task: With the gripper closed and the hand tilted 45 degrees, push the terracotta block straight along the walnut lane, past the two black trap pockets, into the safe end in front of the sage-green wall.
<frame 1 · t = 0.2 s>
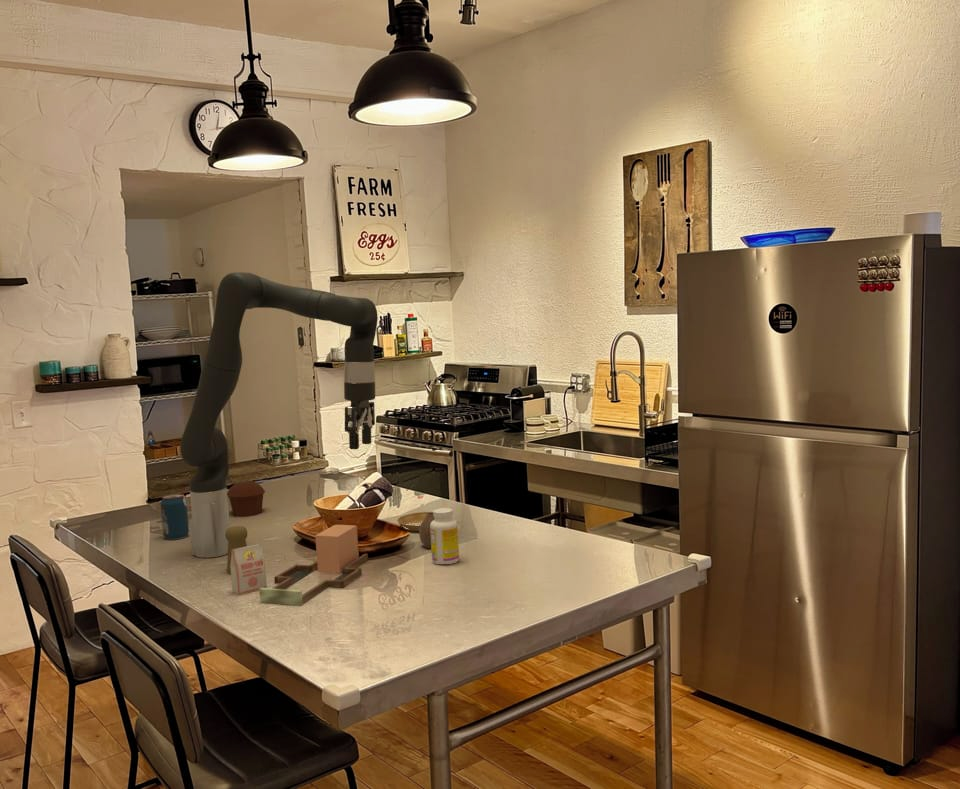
hand: (360, 446, 212), 29 cm above the table, tool pointing down, fingers open, 8 cm apart
supplement bottle: (445, 562, 212), on the table
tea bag: (249, 590, 198), on the table
muffin: (247, 514, 271), on the table
trap lane: (318, 578, 203), on the table
soda can: (176, 537, 246), on the table
terracotta block: (338, 566, 212), on the table
vase: (433, 546, 226), on the table
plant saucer: (423, 528, 246), on the table
olive ball-topped cylinder: (239, 571, 212), on the table
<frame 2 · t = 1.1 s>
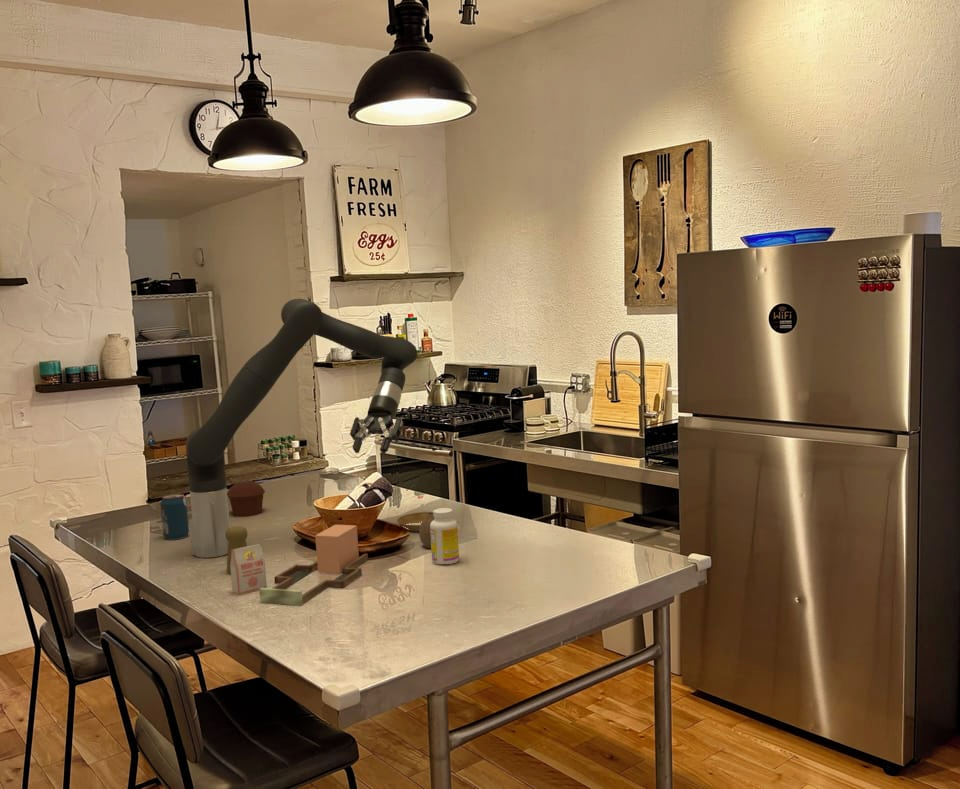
hand: (369, 451, 228), 25 cm above the table, tool tilted 45°, fingers open, 7 cm apart
nothing on the table moved.
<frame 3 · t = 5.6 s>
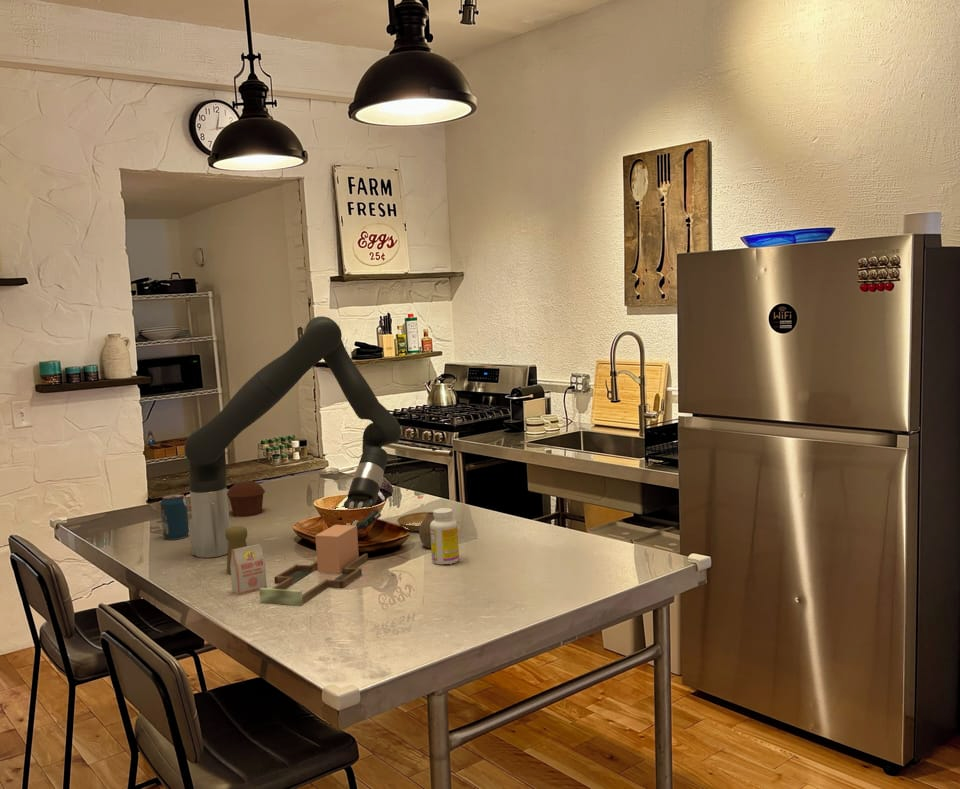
hand: (347, 542, 217), 4 cm above the table, tool tilted 45°, fingers closed
terracotta block: (338, 566, 212), on the table, touching gripper
everything else where it was.
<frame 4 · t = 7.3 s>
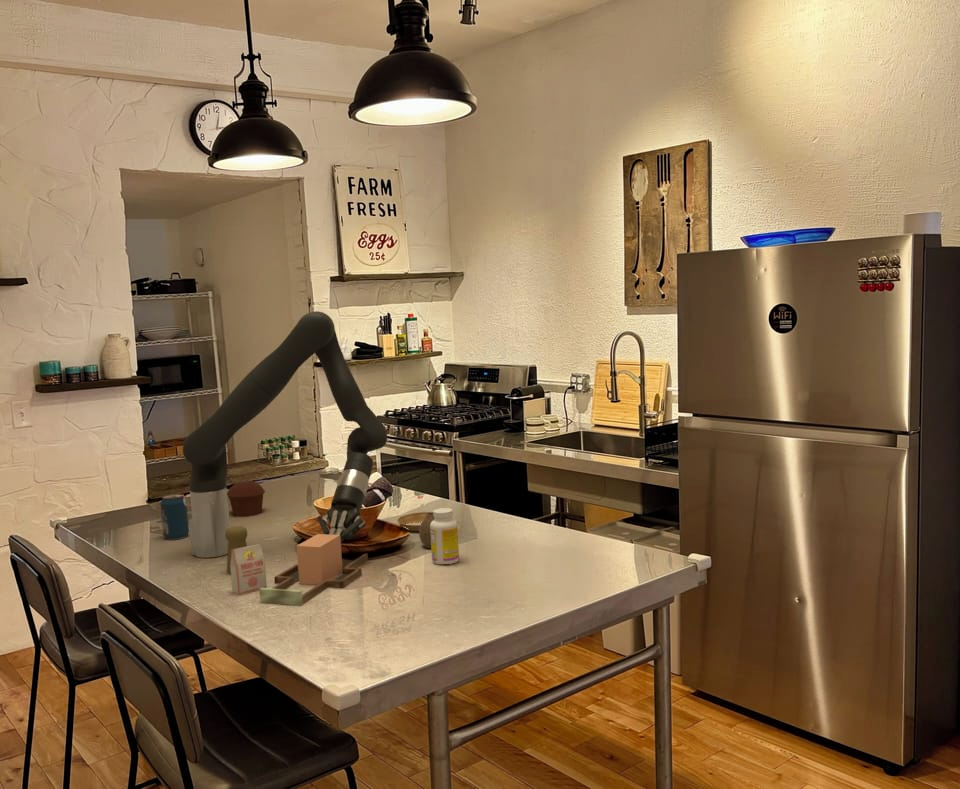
hand: (331, 553, 208), 4 cm above the table, tool tilted 45°, fingers closed
terracotta block: (321, 577, 204), on the table, touching gripper
everything else where it was.
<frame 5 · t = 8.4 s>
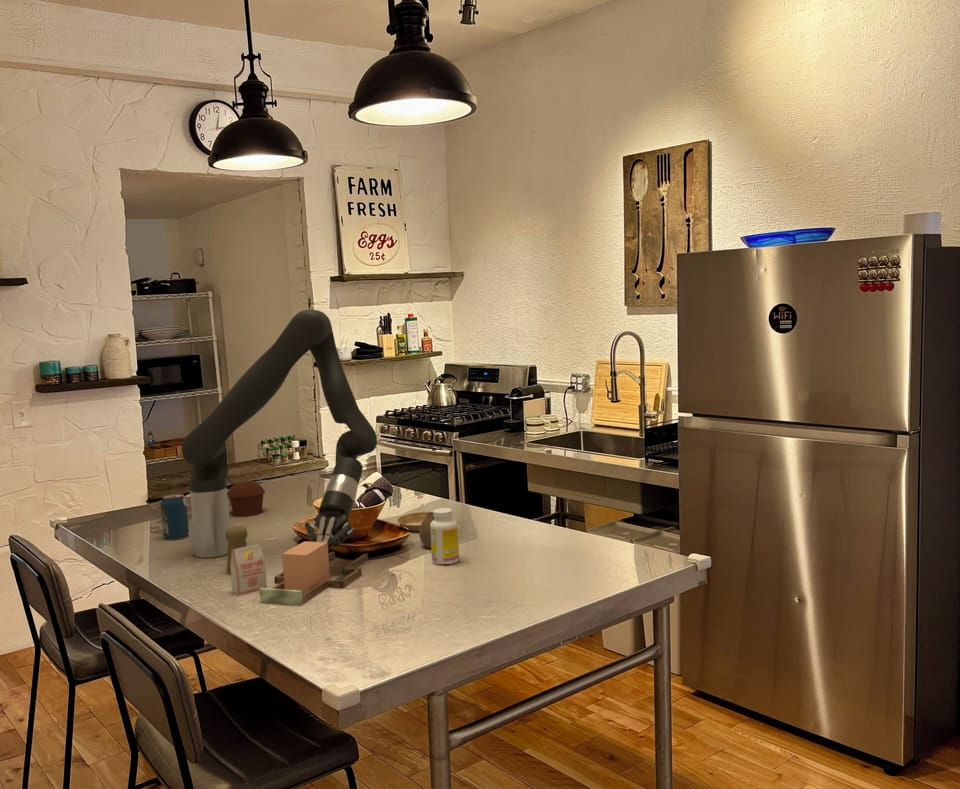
hand: (318, 560, 202), 4 cm above the table, tool tilted 45°, fingers closed
terracotta block: (307, 586, 198), on the table, touching gripper
everything else where it was.
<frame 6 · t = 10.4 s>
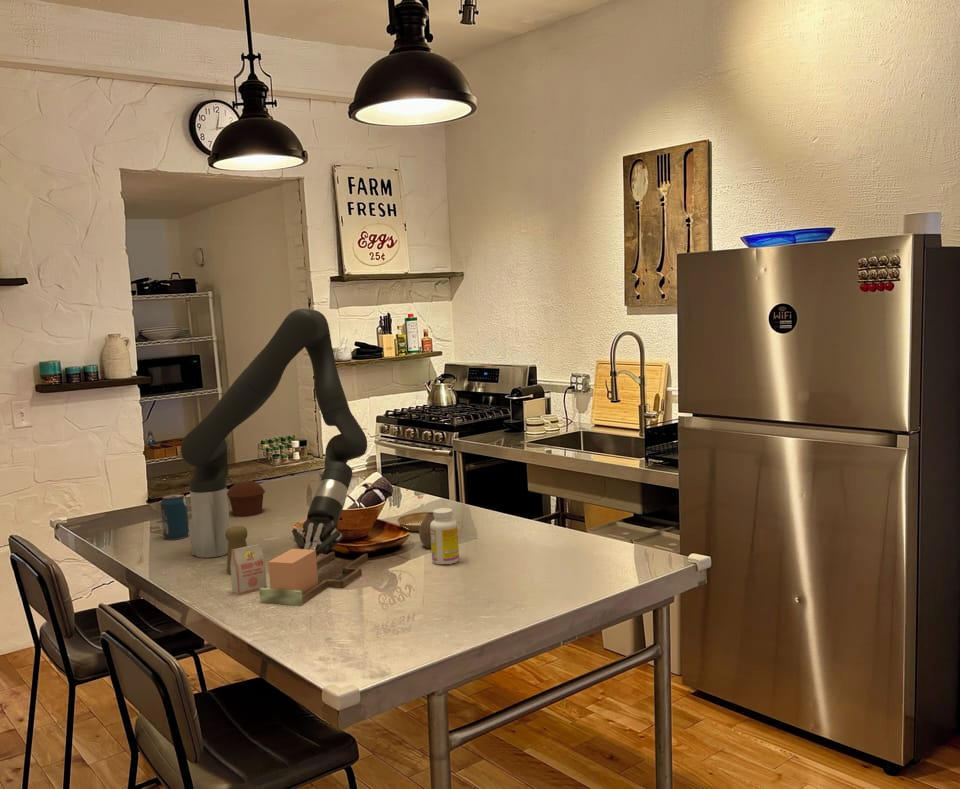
hand: (306, 568, 197), 4 cm above the table, tool tilted 45°, fingers closed
terracotta block: (295, 595, 192), on the table, touching gripper, trap lane
everything else where it was.
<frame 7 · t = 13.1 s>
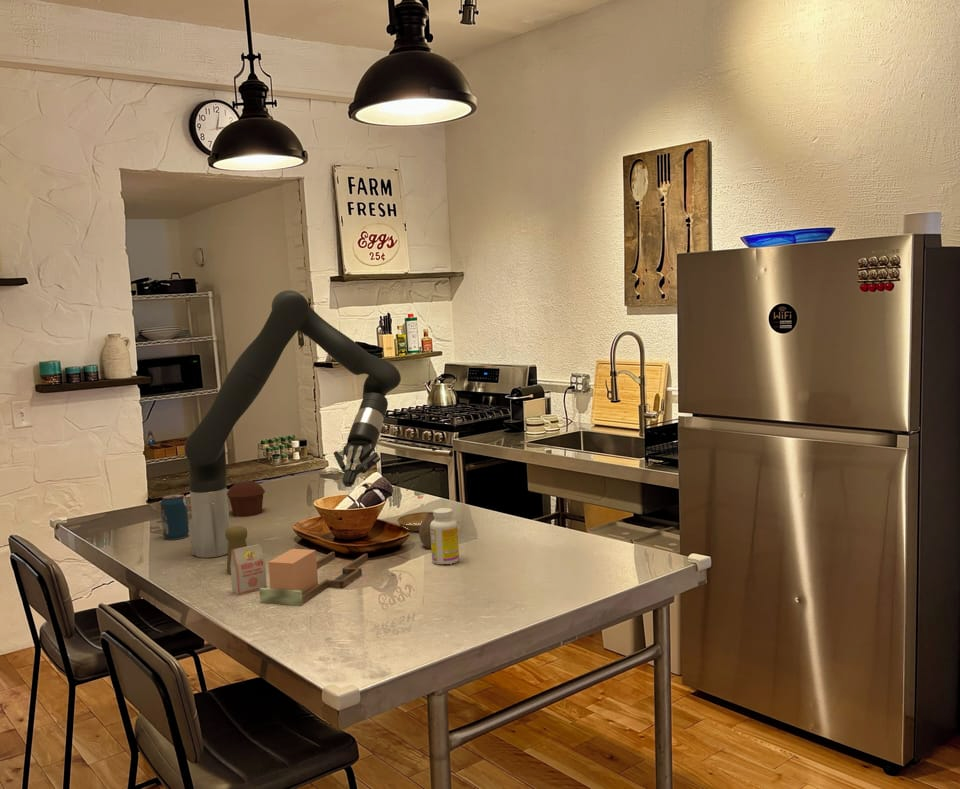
hand: (347, 485, 217), 19 cm above the table, tool tilted 45°, fingers closed
terracotta block: (295, 595, 192), on the table
everything else where it was.
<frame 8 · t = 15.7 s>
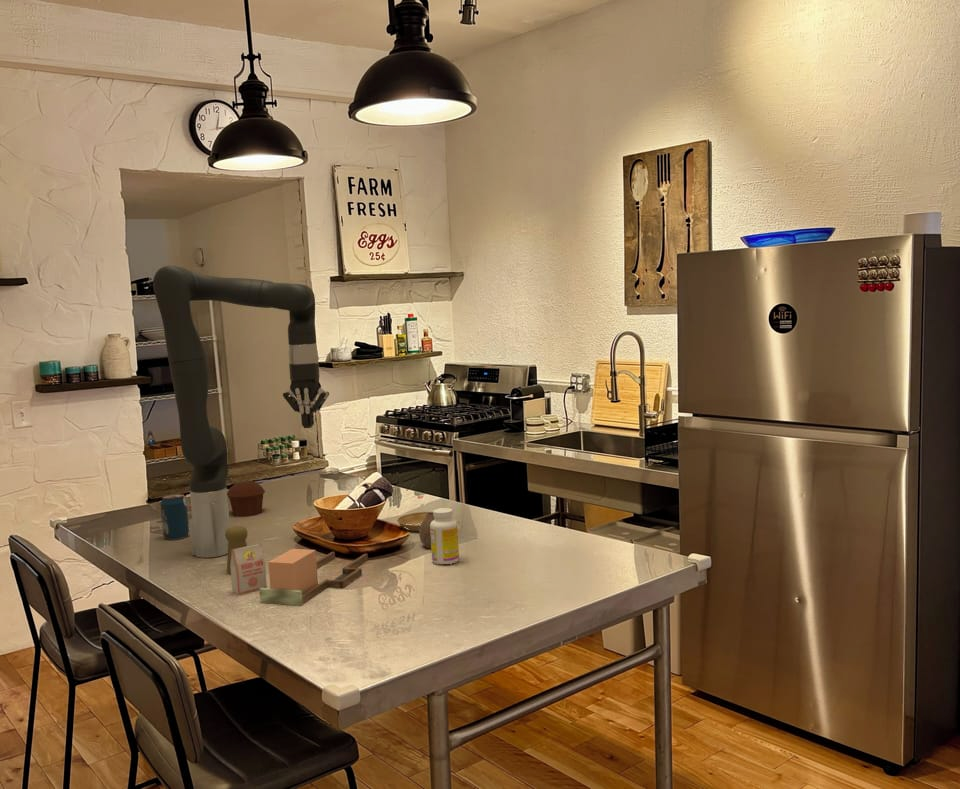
hand: (308, 427, 226), 32 cm above the table, tool pointing down, fingers closed
nothing on the table moved.
at the end: terracotta block 0.3 cm from the target spot, on the table; terracotta block tilted 0°; terracotta block moved 21.0 cm from its start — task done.
